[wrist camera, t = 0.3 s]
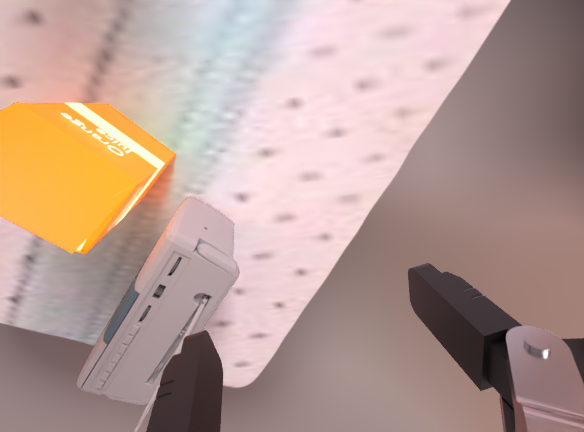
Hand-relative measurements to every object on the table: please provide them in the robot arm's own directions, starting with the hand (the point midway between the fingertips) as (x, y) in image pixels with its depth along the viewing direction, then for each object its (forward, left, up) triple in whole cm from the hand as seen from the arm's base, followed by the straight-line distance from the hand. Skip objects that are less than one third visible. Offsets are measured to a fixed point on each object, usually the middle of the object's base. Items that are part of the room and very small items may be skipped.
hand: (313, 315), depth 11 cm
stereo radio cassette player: (+11, -14, -29) cm, 34 cm away
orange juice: (-5, -15, -29) cm, 33 cm away
